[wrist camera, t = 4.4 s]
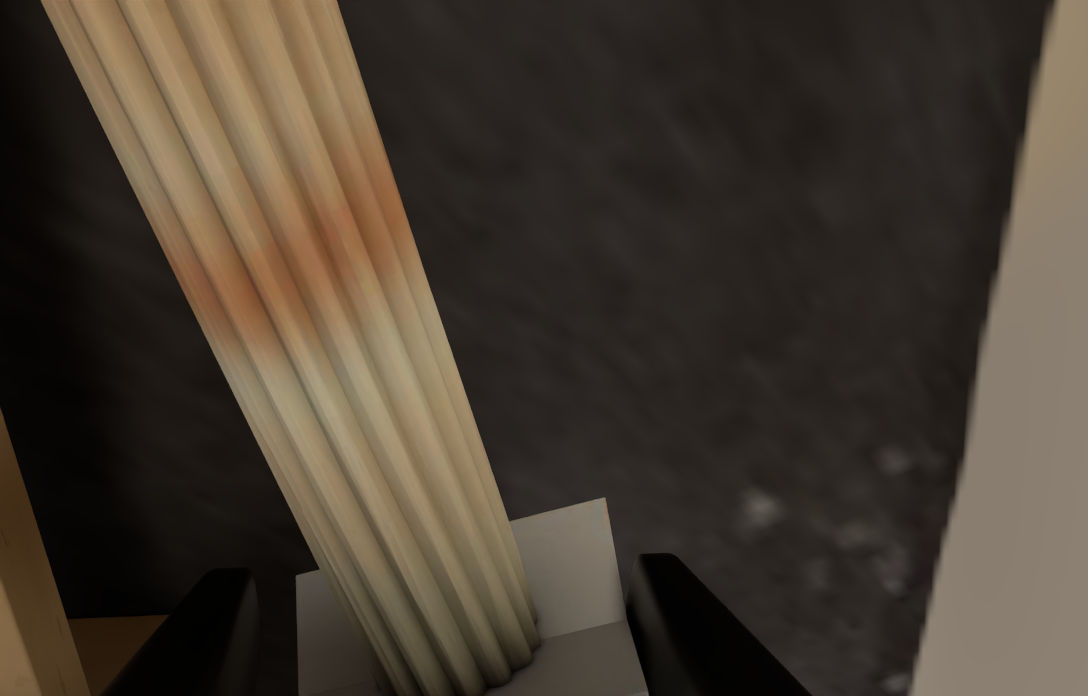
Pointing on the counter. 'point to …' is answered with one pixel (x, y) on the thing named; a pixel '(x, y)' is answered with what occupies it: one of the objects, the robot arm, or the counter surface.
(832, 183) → the counter surface
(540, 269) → the counter surface
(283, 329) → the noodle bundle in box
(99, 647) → the shelf
